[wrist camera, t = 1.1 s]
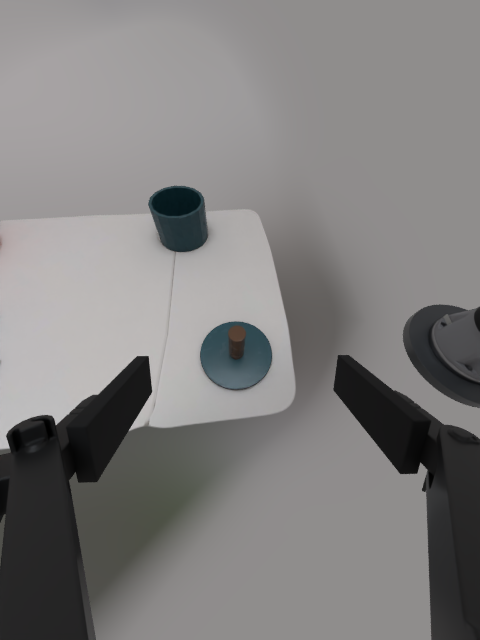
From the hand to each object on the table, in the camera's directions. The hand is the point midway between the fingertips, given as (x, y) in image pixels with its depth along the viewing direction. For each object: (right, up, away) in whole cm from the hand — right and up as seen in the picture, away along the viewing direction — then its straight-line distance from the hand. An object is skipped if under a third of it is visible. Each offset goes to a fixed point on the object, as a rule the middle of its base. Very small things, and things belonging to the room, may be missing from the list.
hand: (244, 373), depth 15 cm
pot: (-15, +26, +43) cm, 53 cm away
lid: (-1, -3, +26) cm, 27 cm away
